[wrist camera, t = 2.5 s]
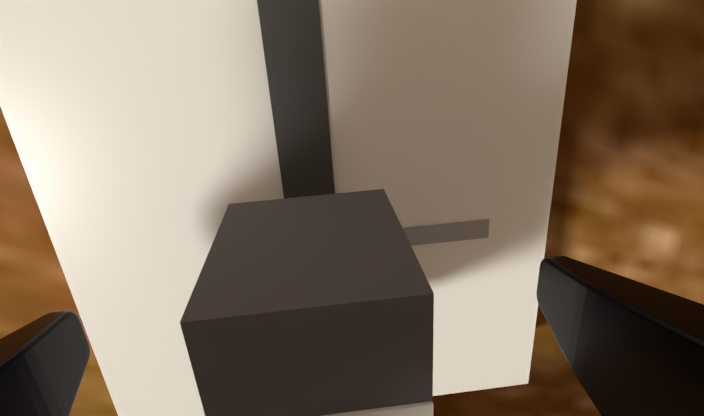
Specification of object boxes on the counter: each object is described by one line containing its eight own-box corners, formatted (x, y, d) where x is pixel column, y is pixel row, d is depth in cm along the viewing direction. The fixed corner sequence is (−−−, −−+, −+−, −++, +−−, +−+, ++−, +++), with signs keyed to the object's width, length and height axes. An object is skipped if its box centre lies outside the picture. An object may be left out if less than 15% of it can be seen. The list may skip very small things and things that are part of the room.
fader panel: (596, -721, 7) (706, -999, 5) (501, 339, 15) (528, 385, 13) (-229, -758, 6) (-464, -1106, 4) (148, 383, 14) (125, 437, 13)
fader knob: (373, 168, 10) (434, 295, 5) (380, 315, 11) (432, 511, 7) (238, 181, 10) (178, 324, 5) (264, 328, 11) (237, 539, 7)
